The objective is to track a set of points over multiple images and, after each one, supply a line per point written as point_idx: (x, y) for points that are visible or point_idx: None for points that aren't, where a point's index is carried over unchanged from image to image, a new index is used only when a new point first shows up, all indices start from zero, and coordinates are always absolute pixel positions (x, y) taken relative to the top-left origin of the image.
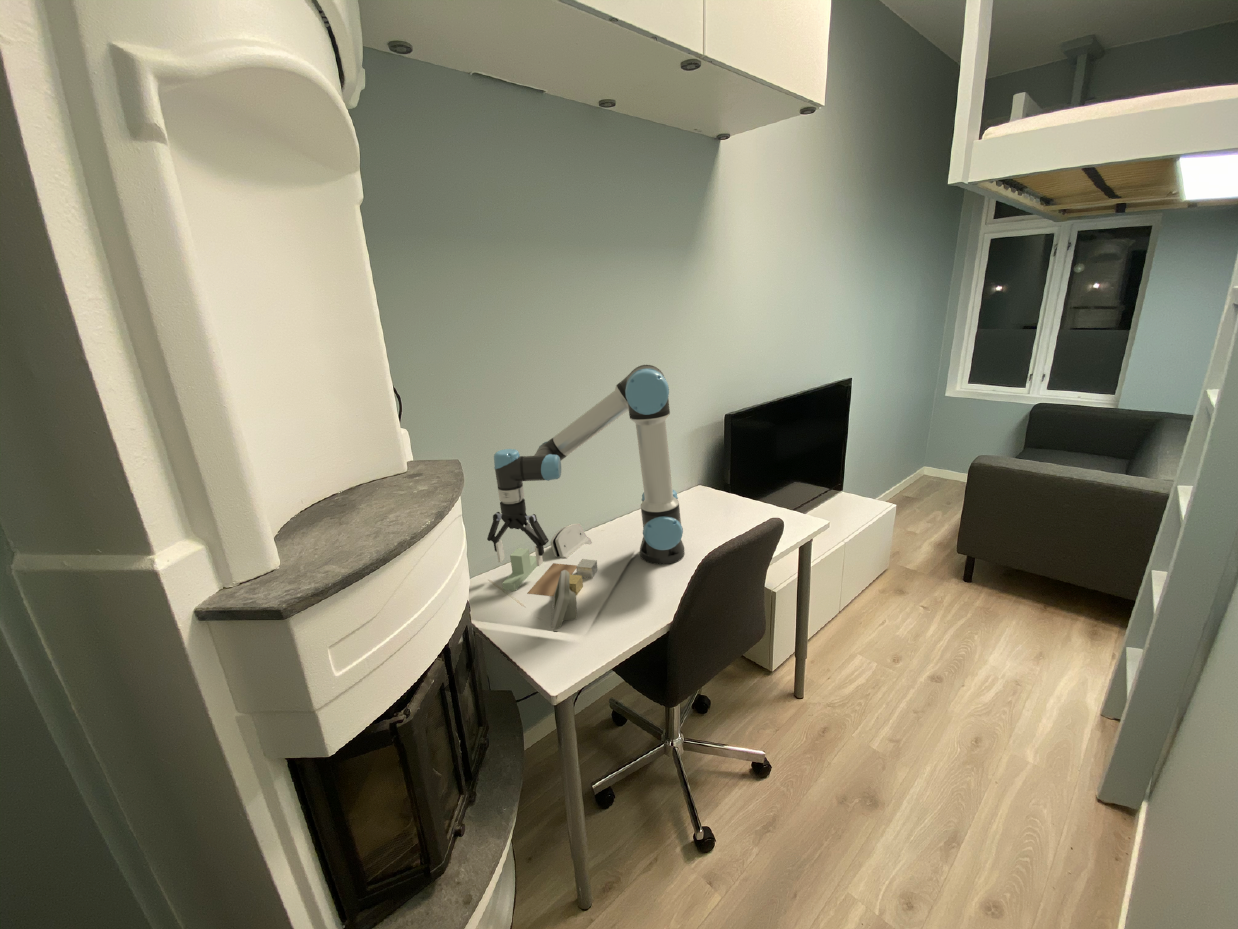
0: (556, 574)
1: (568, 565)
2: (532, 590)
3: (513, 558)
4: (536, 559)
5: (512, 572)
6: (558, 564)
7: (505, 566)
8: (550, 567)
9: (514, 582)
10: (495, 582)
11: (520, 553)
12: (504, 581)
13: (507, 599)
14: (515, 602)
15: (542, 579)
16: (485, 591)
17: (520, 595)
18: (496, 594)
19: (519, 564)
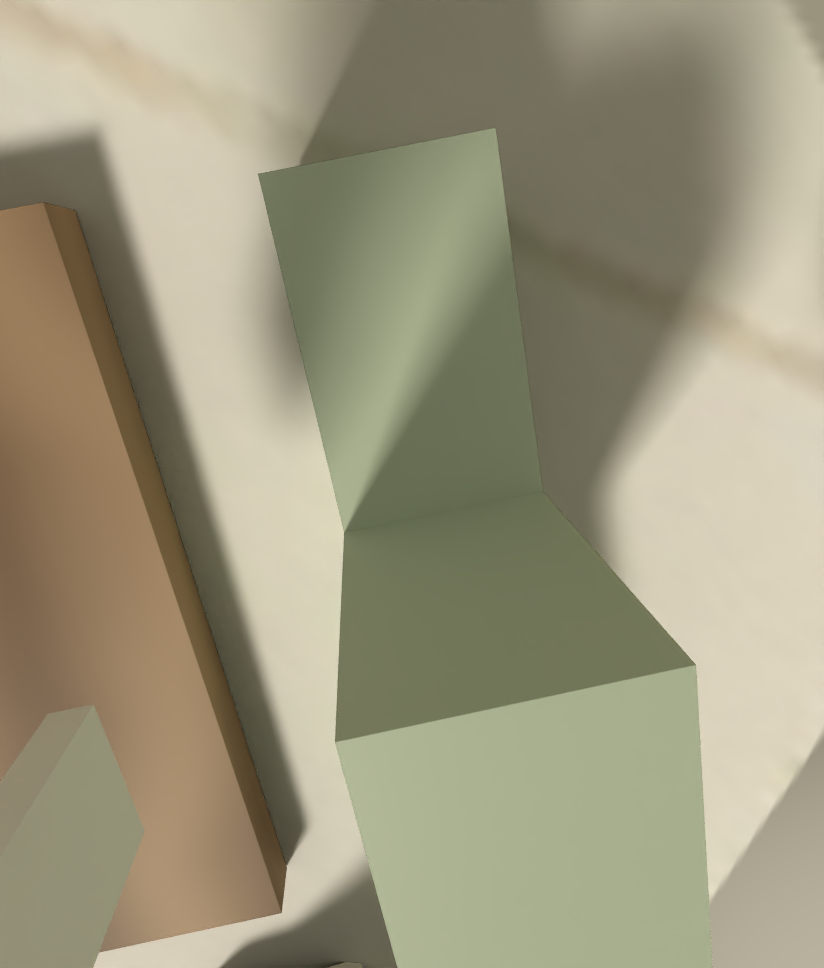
0: None
1: None
2: (32, 308)
3: (569, 637)
4: (18, 818)
5: (543, 493)
6: (203, 916)
7: (812, 689)
8: (244, 839)
9: (294, 234)
10: (737, 368)
11: (477, 842)
12: (490, 195)
13: (314, 56)
14: (146, 27)
15: (126, 597)
16: (745, 122)
17: (215, 225)
18: (551, 114)
19: (413, 596)
